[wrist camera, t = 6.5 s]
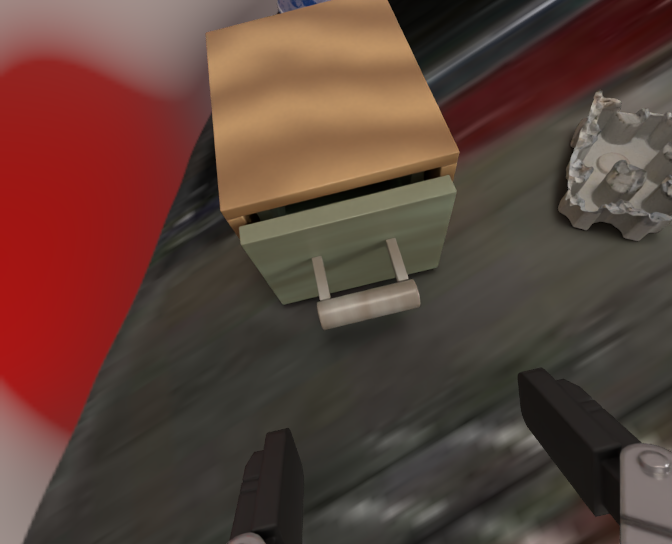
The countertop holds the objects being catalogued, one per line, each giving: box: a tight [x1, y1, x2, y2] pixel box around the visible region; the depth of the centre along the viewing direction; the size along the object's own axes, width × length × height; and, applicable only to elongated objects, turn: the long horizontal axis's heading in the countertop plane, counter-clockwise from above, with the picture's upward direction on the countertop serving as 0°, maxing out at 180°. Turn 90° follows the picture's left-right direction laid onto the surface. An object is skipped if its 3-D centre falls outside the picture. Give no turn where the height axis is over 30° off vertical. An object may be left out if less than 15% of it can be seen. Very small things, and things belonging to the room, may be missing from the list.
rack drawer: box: [239, 171, 457, 330], centre depth 26 cm, size 19×12×9 cm, turn 12°
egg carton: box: [558, 90, 672, 241], centre depth 28 cm, size 11×8×4 cm
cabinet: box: [206, 0, 459, 239], centre depth 28 cm, size 16×13×11 cm
